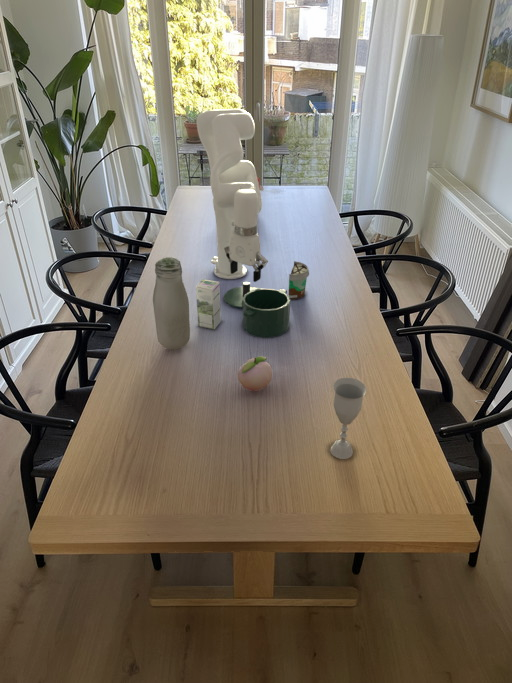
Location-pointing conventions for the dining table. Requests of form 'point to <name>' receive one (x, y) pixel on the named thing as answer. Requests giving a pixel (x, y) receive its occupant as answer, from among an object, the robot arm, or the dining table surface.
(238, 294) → the lid
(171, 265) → the glass bottle
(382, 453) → the dining table surface
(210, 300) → the syrup box
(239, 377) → the decorative fruit
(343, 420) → the chalice
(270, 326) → the pot
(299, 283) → the food container
